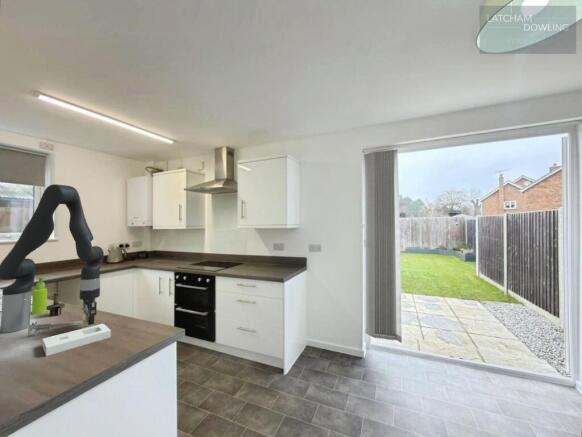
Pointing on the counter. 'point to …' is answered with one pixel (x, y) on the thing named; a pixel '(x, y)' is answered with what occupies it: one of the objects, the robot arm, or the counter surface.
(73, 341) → the white peg hole board
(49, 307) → the industrial component
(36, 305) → the soap dispenser
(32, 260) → the robot arm
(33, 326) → the caliper
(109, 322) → the counter surface
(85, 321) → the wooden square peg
